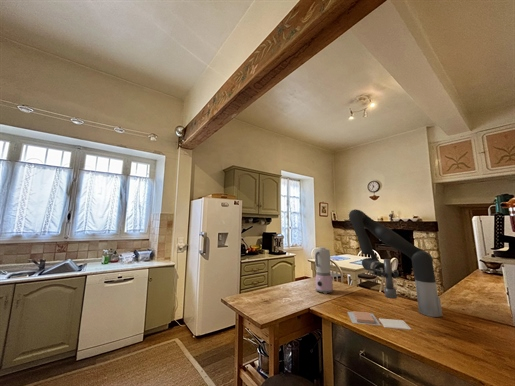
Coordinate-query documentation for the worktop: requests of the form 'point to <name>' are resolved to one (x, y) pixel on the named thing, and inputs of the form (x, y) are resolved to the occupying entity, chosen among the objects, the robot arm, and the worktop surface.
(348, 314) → the mat
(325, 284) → the blender
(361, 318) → the tile
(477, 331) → the worktop surface
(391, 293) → the grey pestle
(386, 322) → the board
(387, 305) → the worktop surface
